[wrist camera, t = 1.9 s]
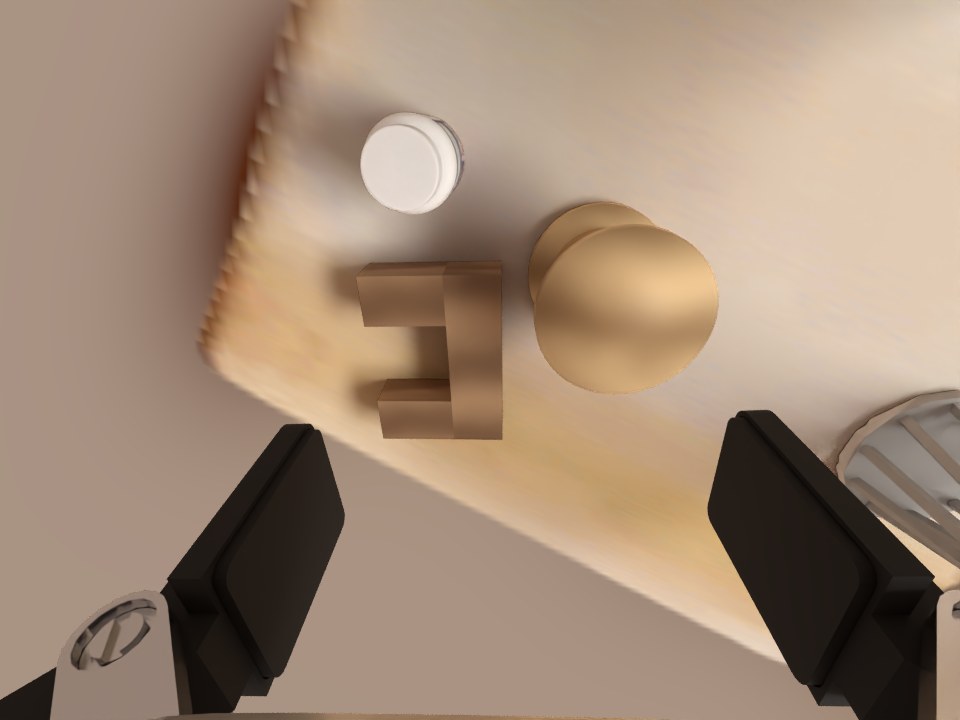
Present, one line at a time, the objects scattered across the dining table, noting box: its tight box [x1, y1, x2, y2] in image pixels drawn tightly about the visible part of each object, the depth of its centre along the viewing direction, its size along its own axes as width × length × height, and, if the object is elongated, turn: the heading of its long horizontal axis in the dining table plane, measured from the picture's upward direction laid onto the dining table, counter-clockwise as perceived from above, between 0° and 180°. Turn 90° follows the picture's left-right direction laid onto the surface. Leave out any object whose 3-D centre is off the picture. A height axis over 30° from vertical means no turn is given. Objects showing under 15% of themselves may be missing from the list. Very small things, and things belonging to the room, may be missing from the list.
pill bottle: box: [360, 112, 465, 214], centre depth 25 cm, size 5×5×9 cm
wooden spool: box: [528, 202, 719, 394], centre depth 28 cm, size 10×10×9 cm
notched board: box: [356, 261, 503, 440], centre depth 34 cm, size 14×10×4 cm
